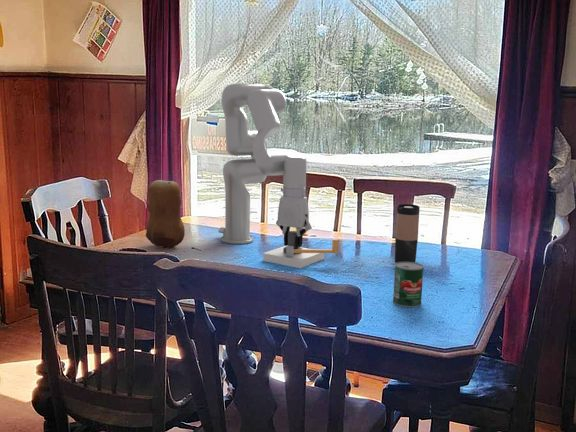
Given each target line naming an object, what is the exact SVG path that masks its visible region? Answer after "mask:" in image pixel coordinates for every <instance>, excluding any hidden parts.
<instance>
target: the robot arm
mask: <svg viewBox="0 0 576 432" xmlns="http://www.w3.org/2000/svg"><path fill="white" fill-rule="evenodd" d="M221 106H222V107H221V108H222V111H223V114H224V121H225V122H224V123H225V125H224V127H225V145H226V146H225V147H226V151H227V153H228V155H231V156H233V157H234V156H237V157H239V156H241V157H242V156H243V157H244V156H250V158H241V159H240V158H238V159H237V158H236V159H231V160H228V161H227V162H225V163H224V165H223V168H222V175H223V182H224V191H225V194H224V195H225V202H224V203H225V210H224V215H225V217H224V218H225V220H224V221H225V223H224V224H225V226H224V227H223V226H220V227H219V229H218V233H220V234H222V236H221V238H220V240H221V242H223V243H226V244H233V245H242V244H249V243H253V241H254V239H255V238H254V236H252V235H251V234H250V233H251V230H250V229H251V195H250V192H249V190H248V189H247V187H246V185H248V184H249V185H251V184H261V183H263V182H265V180H266V179H267V177H268V176H269V177H273V176H283V182H282V185H283V186H282V187H280V192H281V193H282V195H280V198H279V203H278V209H277V220H276V222H275V225H277V227H278V228H279V229H280V230H281V232H282V234H283V246H287V245H288V231H291V228H295V231H297V236H296V237H295V247H296V248H299V247H302V246H303V241H304V240H303V239H304V238H303V236H305V234H306V233H307V232H308V231H310V230H312V225H311V223H310V215H309V213H310V212H309V202H308V197H307V196H306V192H307V189H306V188H307V158H306V157H305V156H302V155H296V154H295V153H292V152H274V153H273V152H270V153H269V152H268V143H267V139H269V138H271V137H272V136H273V137H274V135H276V134H277V133H278V132H279V131H280V130H281V125H282V124H281V122H280V119H279V116H278V115H277V114H282V113H284V111H285V110H286V108H287V99H286V95H285V94H284V93H283V92H282V91H281V90H280V89H278V88H275V87H272V86H269V85H267V84H261V83H260V84H259V83H232V84H228V85H226V86H225V87H224V88H223V91H222V94H221ZM243 108H248V110H249V112H250V115H251V118H252V120H253V124H254V127H255V129H256V130H253V129H252V130H249V120H248V116H247V114H246V113H245V111H244V110H243Z"/></svg>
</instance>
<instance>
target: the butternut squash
mask: <svg viewBox="0 0 576 432" xmlns="http://www.w3.org/2000/svg"><path fill="white" fill-rule="evenodd" d="M181 206H182V196H181V188H180V185H179V183H177V182H176V181H173V180H162V179H157V180H154V181H152V182H151V183H150V185H149V187H148V204H147V210H148V213H149V216H148V219H147V222H146V233H145V237H146V239H147V240H148V241H149V242H150V243H151V244H152V245H154V246H156V247H162V248H163V247H164V249H166V248H167V249H173V248H174V247H177V246H178V245H180V244H181V243H182V242H183V240H184V239H185V235H186V232H185V225H184V222H183V220H182V218H181Z"/></svg>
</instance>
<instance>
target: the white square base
mask: <svg viewBox="0 0 576 432" xmlns="http://www.w3.org/2000/svg"><path fill="white" fill-rule="evenodd" d="M287 246H288V245H287ZM284 247H286V246H284V245H283V246H281V247H277V248H274V249H271V250H268V251H265V252H263V253H262V261H263V262H268V263H273V264H277V265H281V266H282V265H283V266H286V267H291V268H297V269H303V268H305V267H307V266H308V267H309V265H310V266H311V265H313V264H315V263H317V262H320V261H322V260H324V259H325V253H301V254H295V255H294V256H293V257H287V256H286V253H284V252H283V248H284ZM301 248H302V249H309V248H307V247H302V246H301Z"/></svg>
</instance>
